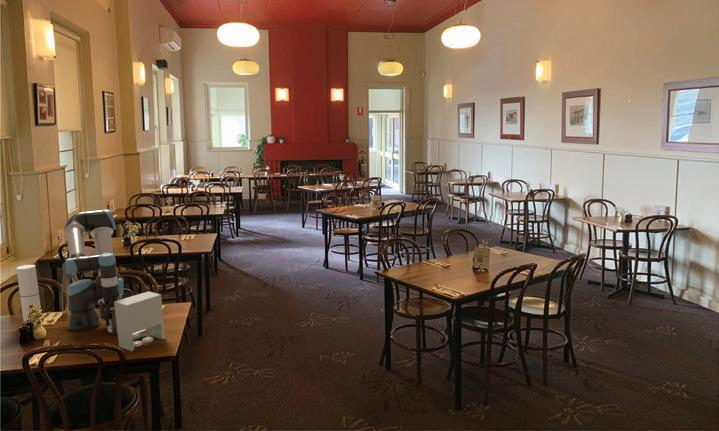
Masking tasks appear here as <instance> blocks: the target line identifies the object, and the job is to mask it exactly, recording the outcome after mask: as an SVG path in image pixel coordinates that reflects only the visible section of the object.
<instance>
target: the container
mask: <svg viewBox="0 0 719 431" xmlns="http://www.w3.org/2000/svg"><path fill="white" fill-rule="evenodd" d="M15 269H16V275H17V282H18V290H19V295H20V296H19V297H20V304H21V312H22V318H23V323H24V322H25V321H27V320H28V315H29V306H30V305H31V304H33V305H37V306H39V307H40V308H41V307H42V306H41V300H40V294H39V284H38V278H37V271H36V270H37V268H36V265H35V264H24V265H20V266H17V267H16V268H15ZM41 309H42V308H41Z"/></svg>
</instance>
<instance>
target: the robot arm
mask: <svg viewBox="0 0 719 431" xmlns="http://www.w3.org/2000/svg"><path fill="white" fill-rule="evenodd" d="M114 230H116V222H115V218H114V213H113V212H112V211H111V209H97V210H87V211H78V212H77V213H74V214H73V215H71V216H70V217H69V218H68V219H67V221H66V222H65V226H64V233H65V235H66V236H67V244H68V245H67V246H68V256H69V258H66V259H65V260H64V263H65V264H66V271H67V273H68V274H71V273H72V274H80V273H86V272H94V271H97V272H98V276H96V278H95V279H96V280H95V281H93V280H92V279H91V278H87V279H79V280H77V281H76V282H75V281H74V282H71V283H70V285H69V286H68V285H67V296H68V305H69V317H68V321H67V328H68V329H69V330H70V331H84V330H85V331H86V330H90V329H93V328H95V327H98V326H99V325H100V324H101V320H104V321H105V326H106V327H107V332H112V323H111V319H110V310H111V307H112V304H113V307H114V308H115V305H114V301H118V300H121V299H125V298H126V295H125V294H124V278H123V277H121V275H120V274H119V273H118V271H117V262H116V261H117V260H116V256H115V254H114V248H113V239H112V235H113V234H114ZM85 233H86V234H87V233H89V234H90V237H91V236H92V237H93V240H94V246H95V248H94V249H95V255H88V256H87V254H86V246H85V236H84V234H85ZM96 305H98V308H99V314H98V312H97V310H96ZM99 315H100V316H99Z"/></svg>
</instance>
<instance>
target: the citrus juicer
mask: <svg viewBox="0 0 719 431" xmlns="http://www.w3.org/2000/svg"><path fill="white" fill-rule="evenodd" d="M61 269H62V273H63V274H62V280H61V290H60V291H61V298H60V299H61V301H60V302H61V314H64V315H65V313H64V285H65V280H66V282H67V287H68V286H69V285H70V284H71V283H72V282H71V281H72V279H73V280H74V282H76V281H78V278H77V276H76V275H75V274H76V273H71V274H68V273H67V271H66V264H65V262H63V263H62V268H61Z"/></svg>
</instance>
